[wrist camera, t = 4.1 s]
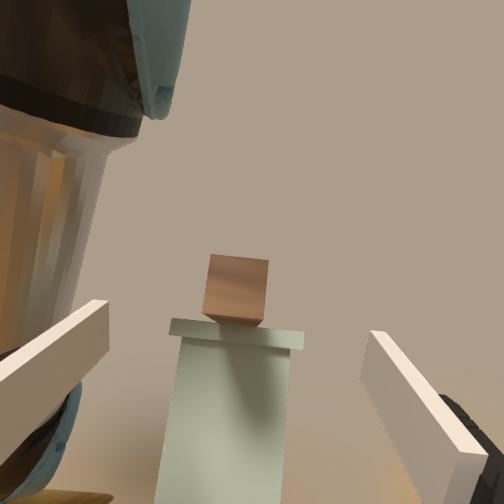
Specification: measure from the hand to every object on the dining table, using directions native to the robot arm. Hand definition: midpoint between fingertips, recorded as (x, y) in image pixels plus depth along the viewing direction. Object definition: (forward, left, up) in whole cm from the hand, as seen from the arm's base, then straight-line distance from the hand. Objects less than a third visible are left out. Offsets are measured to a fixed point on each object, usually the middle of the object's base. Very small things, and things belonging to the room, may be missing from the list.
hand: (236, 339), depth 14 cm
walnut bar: (-12, +8, +1) cm, 15 cm away
